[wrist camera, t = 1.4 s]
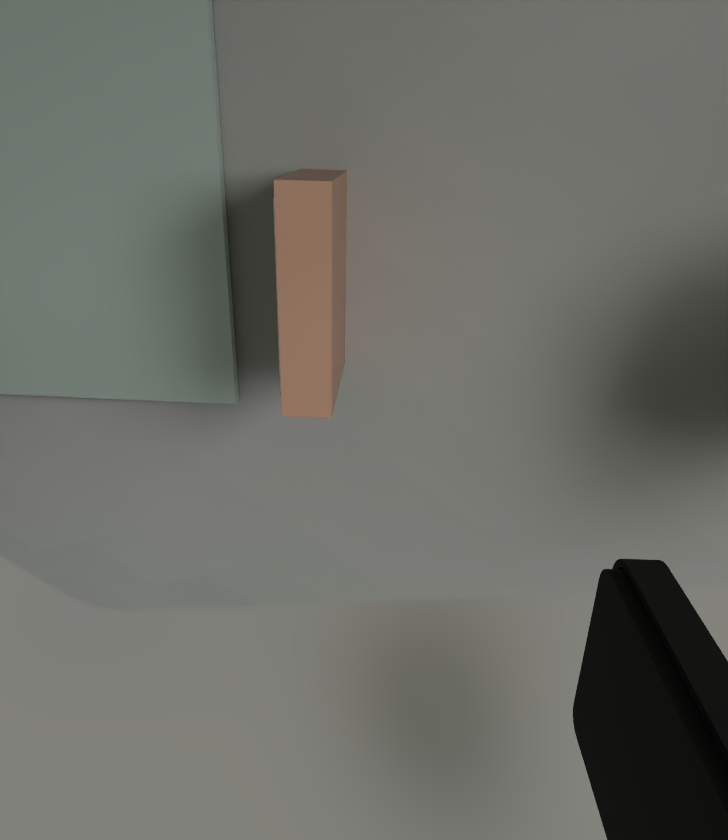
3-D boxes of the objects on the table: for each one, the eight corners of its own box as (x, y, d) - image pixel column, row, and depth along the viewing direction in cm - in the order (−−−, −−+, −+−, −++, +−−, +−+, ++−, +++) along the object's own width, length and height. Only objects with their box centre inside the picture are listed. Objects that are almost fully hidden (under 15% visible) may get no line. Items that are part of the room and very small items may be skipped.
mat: (-271, -169, 21) (-289, -177, 20) (200, -165, 20) (195, -173, 20) (-95, 384, 29) (-105, 389, 29) (239, 399, 29) (236, 404, 28)
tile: (297, 169, 24) (268, 179, 19) (347, 170, 24) (331, 181, 19) (301, 360, 28) (277, 415, 22) (344, 362, 28) (331, 418, 22)
